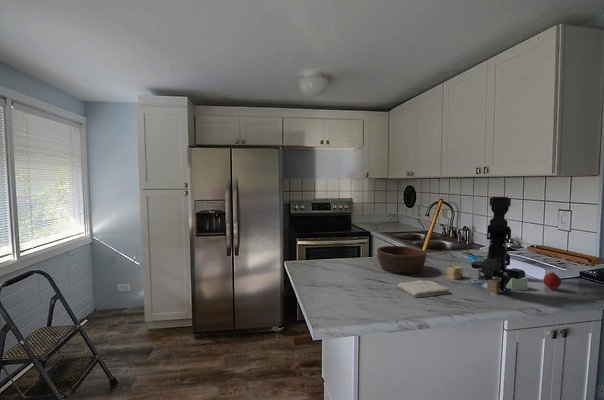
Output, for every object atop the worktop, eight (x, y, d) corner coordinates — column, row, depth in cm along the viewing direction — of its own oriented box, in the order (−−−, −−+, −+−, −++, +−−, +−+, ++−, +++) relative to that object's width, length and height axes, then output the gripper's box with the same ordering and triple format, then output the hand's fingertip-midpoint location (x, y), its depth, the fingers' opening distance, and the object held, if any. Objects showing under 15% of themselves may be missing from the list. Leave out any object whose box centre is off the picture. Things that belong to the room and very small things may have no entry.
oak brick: (455, 275, 144) (456, 265, 144) (462, 277, 141) (462, 267, 141) (446, 277, 141) (447, 267, 141) (453, 279, 138) (453, 269, 138)
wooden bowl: (368, 269, 154) (369, 250, 154) (388, 260, 173) (388, 243, 173) (416, 279, 138) (416, 258, 138) (432, 268, 157) (432, 249, 157)
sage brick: (520, 287, 129) (521, 276, 128) (527, 289, 125) (527, 278, 125) (505, 287, 128) (506, 276, 128) (511, 290, 125) (512, 278, 124)
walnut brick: (496, 289, 126) (496, 277, 126) (505, 291, 123) (505, 280, 123) (487, 291, 123) (487, 280, 122) (495, 294, 119) (496, 282, 119)
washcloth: (451, 294, 120) (451, 287, 120) (415, 299, 115) (415, 291, 115) (430, 285, 131) (430, 278, 131) (396, 289, 126) (396, 282, 126)
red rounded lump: (556, 288, 127) (557, 270, 127) (563, 292, 122) (564, 273, 121) (540, 286, 129) (541, 268, 129) (546, 291, 123) (547, 272, 123)
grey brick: (472, 274, 146) (473, 265, 146) (480, 276, 144) (481, 266, 144) (469, 278, 141) (469, 267, 141) (477, 279, 139) (478, 269, 138)
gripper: (464, 250, 126) (463, 285, 127) (511, 259, 110) (510, 300, 111) (479, 247, 132) (478, 281, 132) (526, 256, 115) (525, 295, 116)
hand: (496, 289), depth 123 cm, fingers open, 5 cm apart
